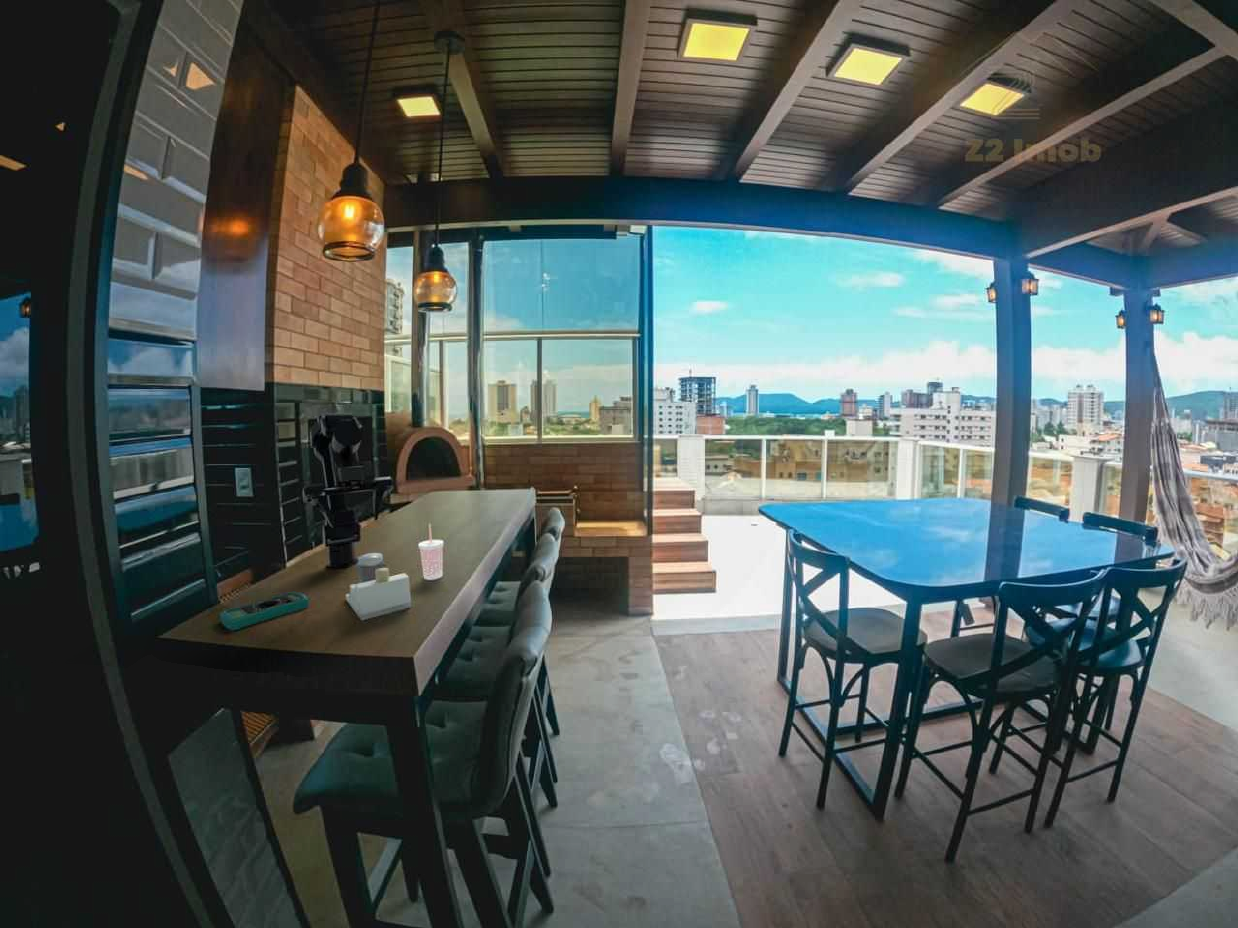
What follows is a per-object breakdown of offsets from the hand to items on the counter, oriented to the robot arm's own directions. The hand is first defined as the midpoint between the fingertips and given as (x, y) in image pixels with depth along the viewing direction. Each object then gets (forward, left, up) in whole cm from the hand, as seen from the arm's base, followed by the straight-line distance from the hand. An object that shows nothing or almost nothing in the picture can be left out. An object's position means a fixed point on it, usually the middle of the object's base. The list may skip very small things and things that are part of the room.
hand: (355, 523), depth 116 cm
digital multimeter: (+13, -13, -17) cm, 25 cm away
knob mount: (+6, +8, -17) cm, 20 cm away
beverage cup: (-11, +13, -17) cm, 24 cm away
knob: (+3, +5, -15) cm, 17 cm away
